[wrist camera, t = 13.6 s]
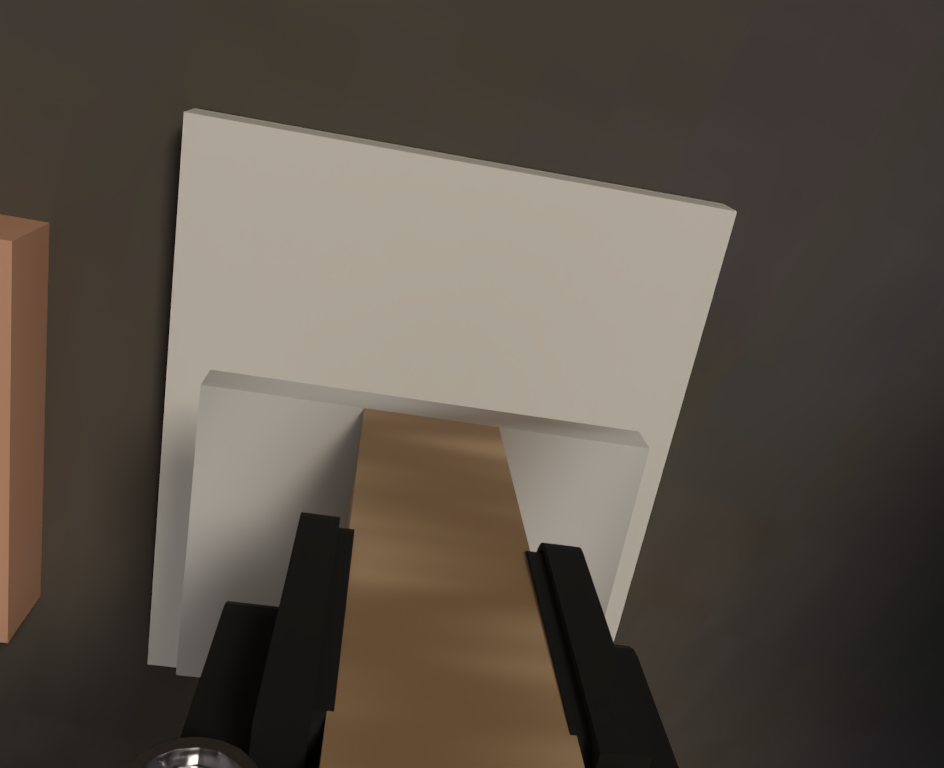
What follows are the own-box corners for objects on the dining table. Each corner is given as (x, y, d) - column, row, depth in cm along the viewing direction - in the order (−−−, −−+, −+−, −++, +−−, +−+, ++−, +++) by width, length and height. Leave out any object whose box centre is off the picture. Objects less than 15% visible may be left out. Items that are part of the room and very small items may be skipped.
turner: (638, 431, 17) (1074, 1126, 6) (571, 690, 19) (804, 1580, 8) (210, 369, 16) (-237, 1066, 5) (185, 649, 18) (-175, 1602, 7)
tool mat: (722, 203, 21) (737, 211, 20) (587, 688, 25) (593, 713, 25) (194, 108, 19) (183, 111, 18) (157, 640, 24) (147, 664, 23)
